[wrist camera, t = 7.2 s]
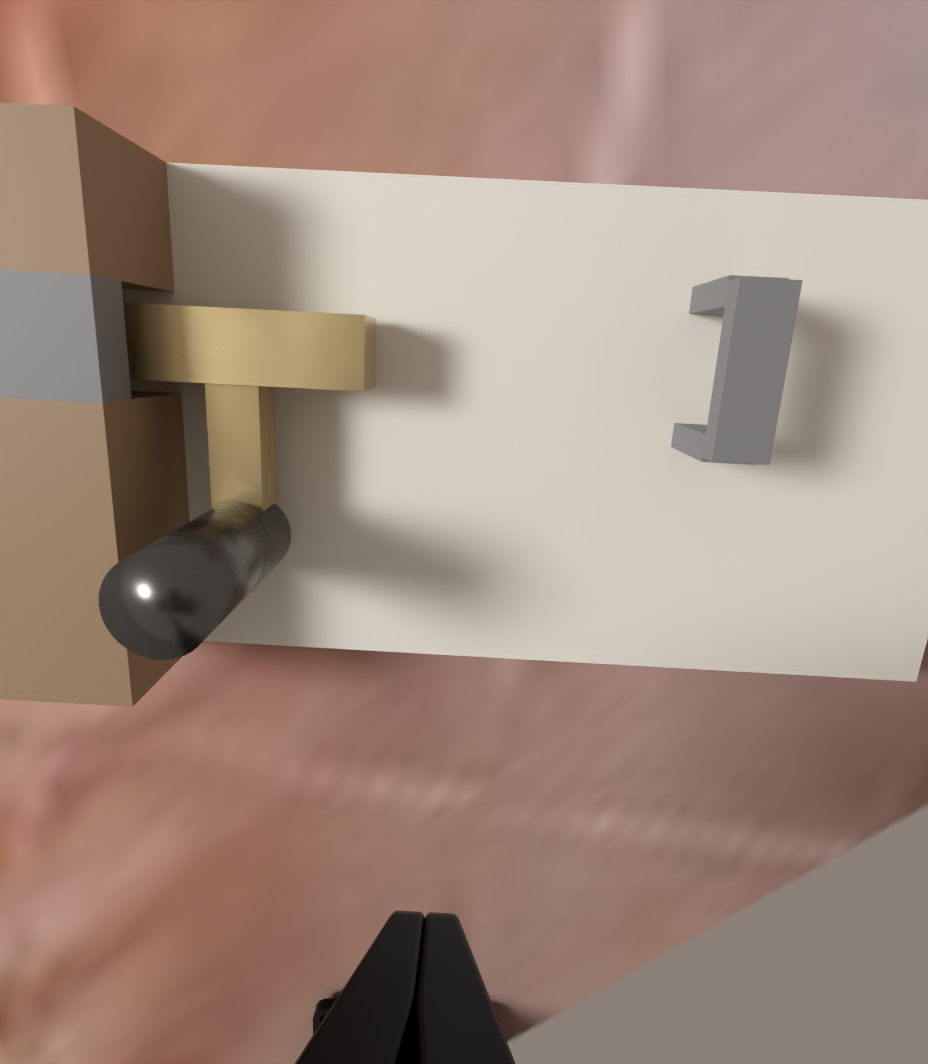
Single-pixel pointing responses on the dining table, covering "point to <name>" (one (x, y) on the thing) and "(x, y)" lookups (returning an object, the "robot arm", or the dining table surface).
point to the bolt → (225, 458)
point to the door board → (474, 414)
